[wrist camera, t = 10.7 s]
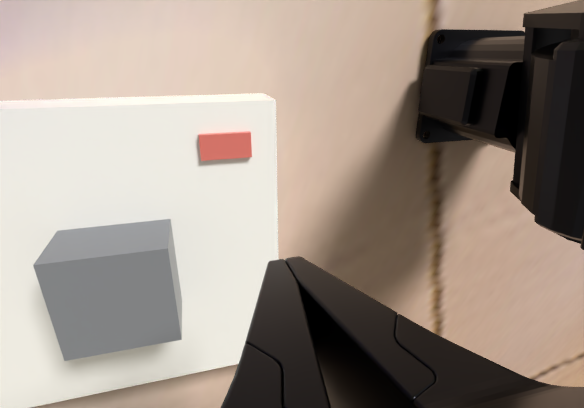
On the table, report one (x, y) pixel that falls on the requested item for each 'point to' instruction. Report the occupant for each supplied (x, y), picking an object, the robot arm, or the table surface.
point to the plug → (111, 287)
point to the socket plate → (130, 209)
